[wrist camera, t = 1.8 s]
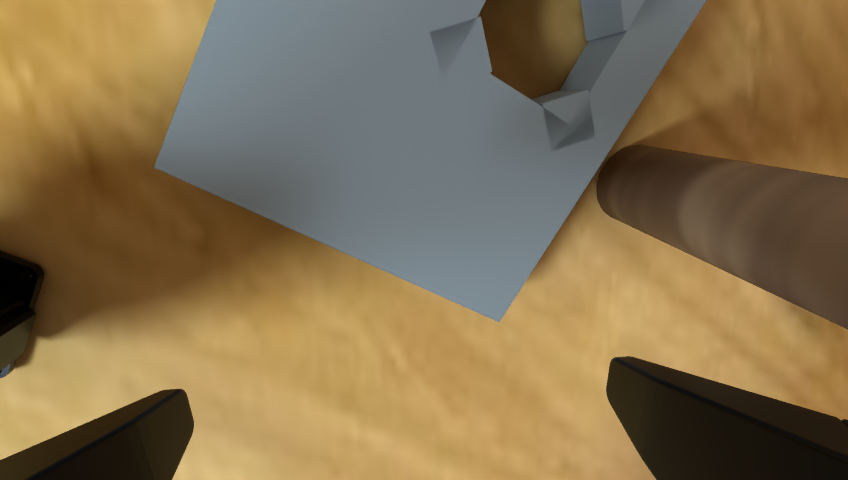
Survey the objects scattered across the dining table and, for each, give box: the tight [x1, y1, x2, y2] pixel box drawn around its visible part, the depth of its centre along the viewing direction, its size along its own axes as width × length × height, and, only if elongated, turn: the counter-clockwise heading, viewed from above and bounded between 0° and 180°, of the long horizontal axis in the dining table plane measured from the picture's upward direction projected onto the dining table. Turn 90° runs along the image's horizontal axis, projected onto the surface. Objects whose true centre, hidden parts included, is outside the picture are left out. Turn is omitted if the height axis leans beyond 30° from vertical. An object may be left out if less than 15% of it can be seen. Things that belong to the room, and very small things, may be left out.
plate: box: [154, 0, 707, 322], centre depth 17 cm, size 16×16×3 cm
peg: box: [597, 145, 848, 329], centre depth 16 cm, size 4×4×12 cm
